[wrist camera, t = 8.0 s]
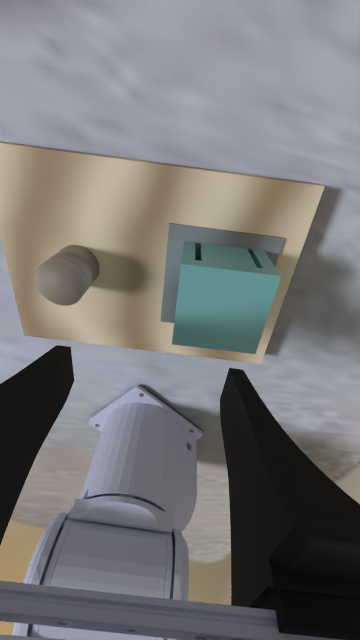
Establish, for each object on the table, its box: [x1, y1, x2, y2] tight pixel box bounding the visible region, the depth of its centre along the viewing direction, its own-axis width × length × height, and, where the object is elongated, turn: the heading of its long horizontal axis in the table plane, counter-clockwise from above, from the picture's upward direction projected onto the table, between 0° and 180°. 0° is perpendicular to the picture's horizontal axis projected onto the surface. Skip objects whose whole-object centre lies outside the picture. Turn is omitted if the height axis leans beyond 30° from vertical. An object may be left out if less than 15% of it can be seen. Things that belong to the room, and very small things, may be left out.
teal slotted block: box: [172, 241, 281, 354], centre depth 16 cm, size 5×5×4 cm
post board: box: [0, 142, 325, 364], centre depth 18 cm, size 19×13×4 cm
